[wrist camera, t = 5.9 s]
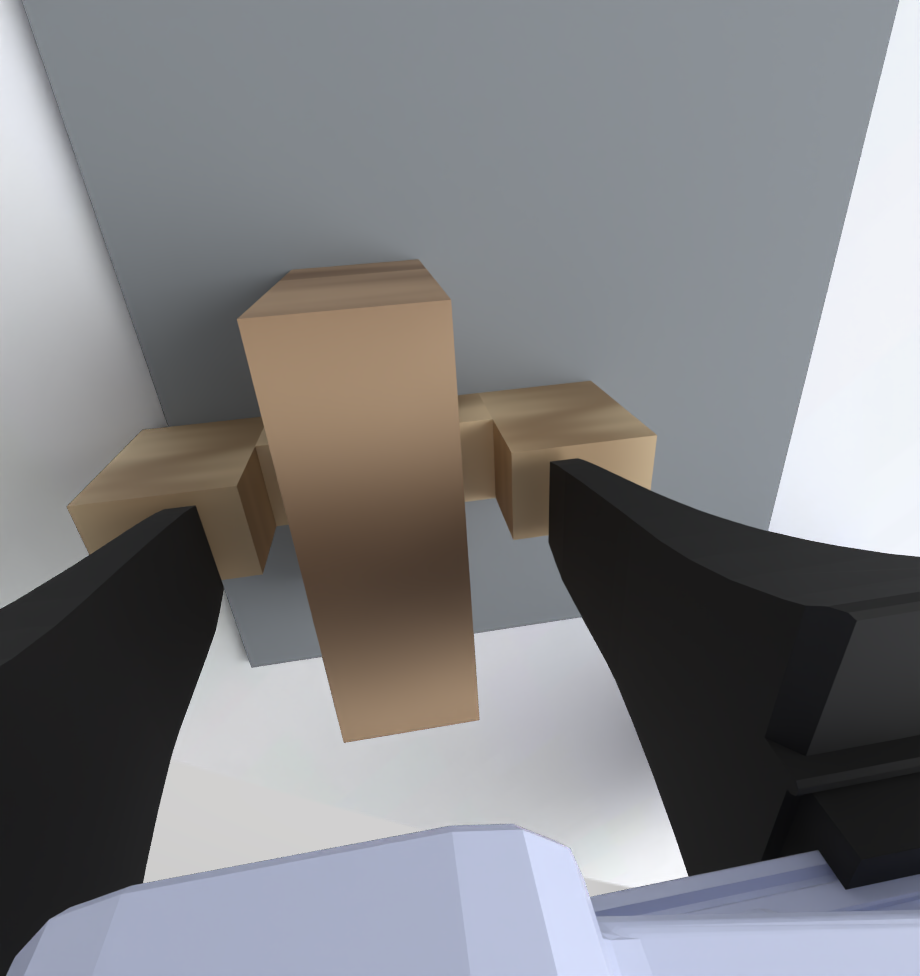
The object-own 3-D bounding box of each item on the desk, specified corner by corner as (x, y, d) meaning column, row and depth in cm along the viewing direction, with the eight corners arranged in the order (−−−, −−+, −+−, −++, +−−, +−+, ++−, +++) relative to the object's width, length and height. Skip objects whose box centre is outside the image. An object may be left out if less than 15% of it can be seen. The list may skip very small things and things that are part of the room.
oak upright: (590, 380, 15) (656, 435, 12) (587, 452, 16) (646, 521, 13) (142, 429, 14) (66, 506, 10) (169, 503, 15) (108, 595, 12)
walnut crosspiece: (446, 562, 17) (479, 720, 12) (351, 575, 17) (343, 742, 12) (418, 259, 13) (450, 299, 8) (291, 269, 13) (236, 319, 8)
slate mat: (746, 583, 20) (753, 590, 20) (253, 658, 19) (251, 667, 18) (976, -382, 10) (999, -404, 9) (-112, -419, 8) (-133, -448, 8)
